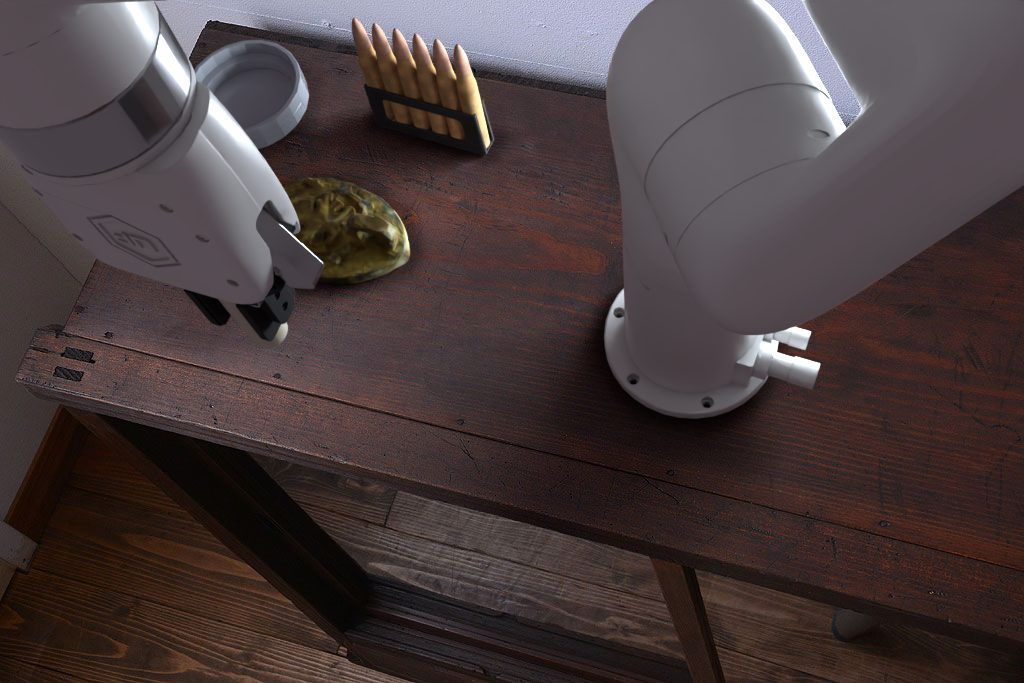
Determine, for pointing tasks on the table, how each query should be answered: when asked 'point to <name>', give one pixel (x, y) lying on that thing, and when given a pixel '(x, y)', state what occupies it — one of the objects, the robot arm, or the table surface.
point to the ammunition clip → (422, 90)
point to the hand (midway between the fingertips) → (254, 308)
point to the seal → (348, 229)
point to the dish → (257, 87)
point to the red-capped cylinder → (250, 331)
